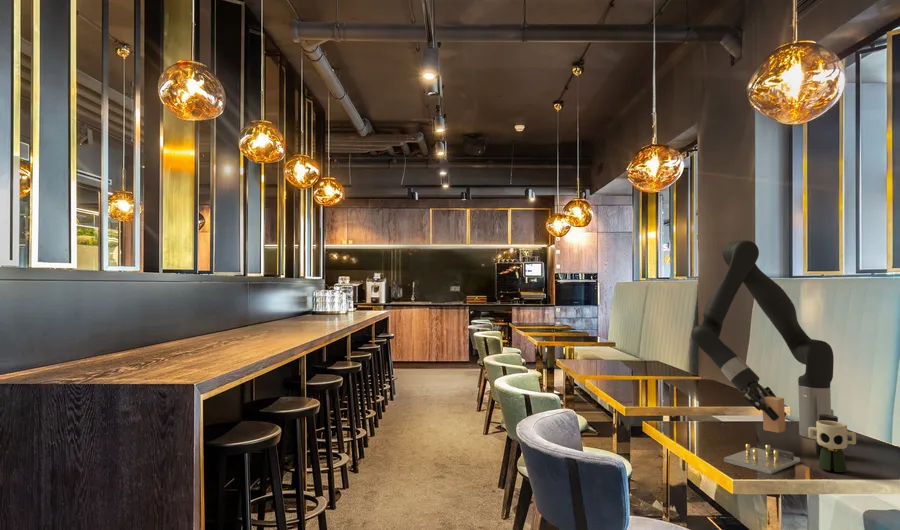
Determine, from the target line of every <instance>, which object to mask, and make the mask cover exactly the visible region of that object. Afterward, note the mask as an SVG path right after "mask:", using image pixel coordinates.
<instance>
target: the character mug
mask: <svg viewBox="0 0 900 530" xmlns="http://www.w3.org/2000/svg"><path fill="white" fill-rule="evenodd" d="M813 431H816V432H817V436H813ZM808 432H809V438H808V439H811V440H815V439H816V440H817V442H818V444H819V445H821V446H823V447H822V449H821V452H820V456H819V459H818V467H819V468H820V469H823V470H825V471H828V472H829V471H831V469H832V470H834V472H836V473H843V472H846V471H847V469H848V468H847V463H846V459H845V458H846V456H845V453H844V451H843V449H846V448H847V447H848V445H856V444H857V435H856V434H857V433H856V432H853V431H848V425H847V424H846V423H843V422H839V421H838V422H835V421H817V422H816V428H815V427H809V429H808ZM848 436H850V437H851V440H848ZM841 449H842V450H841Z"/></svg>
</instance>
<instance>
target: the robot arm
mask: <svg viewBox="0 0 900 530" xmlns="http://www.w3.org/2000/svg"><path fill="white" fill-rule="evenodd" d="M721 254H722V255H721V256H722V258H723V261H724V263H725V264H726V265H727V266H728V268H727V271H726V273H725V275H724V277H723V278H722V280H721V281H720V282H719V284H718V285H717V286H716V288H715V289H714V290H713V291H712V293H711V295H710V296H709V299H708V300H707V303H706V305H705V307H704V310H703V313H702V316H703V320H702V323H701V324H699V325H696V326H695V327H693V328H692V330H691V333H690V334H691V339H692V340H693V342H694V343H695V344H696V346H698V347H699V348H700V349H701V350H702V351H703V352H704V353H705V354H706V355H707V356H708V357H709V358H710V359H711V361H712V362H713V363H714V364H715V365H716V367H718V368H719V369H720V371H721V372H722V373H723V375H724V376H725V377H726V379H728V381H729V382H730V383H731V384H732V385H733V387H735V388H736V389H737V390H738V391H739V392H740V393H745V394H744V395H743V399H744V400H745V401H747V402H748V403H749V404H750V405H752V407H754V408H755V409H756V410H757V411H758V412H759V411H761V412H762V413H763V412H765V413H766V414H767V415H768V416H769V417H770V418H771V419H772V420H773V421H775V420H777V419H778V418H779V416H778V415H777V414H776V412H775V411H774V410H773V409H772V408H771V407H770V406H769V405H768V403H767V402H766V401H765V397H767V396H770V397H771V396H773V397H777V395H776V394H775V393H774V391H772V389H771V388H770V387H769V386H766V387H764V386H762V385H761V384H760V383H759V381H760V377H759V376H758V375H757V373H755V372H754V370H752V368H751V367H750V366H749V365H748V364H747V363H746V362H745V361H744V360H743V359H741V358H740V356H738V355H737V354H736V353H735V352H734V351H733V350H732V349H731V348H730V347H729V346H727V345H726V344H725V343H724V342H723V341H722V340H721V338H720V336H721V332H722V329H723V323H724V321H725V319H726V316H727V314H728V312H729V309H730V307H731V306H732V303H733V301H734V299H735V297H736V295H737V293H738V291H739V290H740V288H741V286H742V285H743V284H744V286H745V287H746V289H747V291H748V292H749V293H750V295H751V296H752V297H753V298H754V300H755V302H756V303H757V305H758V306H759V308H760V309H761V310H762V311H763V313H764V314H765V316H767V319H769V320H770V323H771V324H772V325H773V326H774V328H775V329H776V330H777V332H778V333H779V335H780V336H781V338H782V339H783V340H784V342H785V345H786V346H787V347H788V349H789V351H790V353H791V354H792V356H793V357H794V359H795V360H796V361H797V362H798V363H801V365H805V373H804V374H803V375H800V376H799V377H798V380H797V382H798V385H797V386H798V425H799V429H798V430H799V431H798V432H799V436H800V437H803V438H807V439H810V438H809V432H808V429H809V427H815V425H816V422H817V421H819V415H820V414H827V415H833V416H835V414H834V410H833V409H832V404H831V403H832V400H831V395H832V394H831V383H832V381H833V378H834V364H835V363H834V361H835V360H834V351H833V348H832V347H831V345H830V344H829V343H827V342H826V341H825V340H819V339H813V338H811V337H810V336H809V335H808V334H807V333H806V332H805V330H804V329H803V328H802V327H801V325H800V323H799V321H798V316H797V309H796V307H795V304H794V303H793V301H792V300H791V298H790V297H789V295H788V294H787V293H786V291H785V290H784V288H782V287H781V286H780V285H779V284H778V283H777V282H775V281H774V280H773V279H771V278H770V277H769V276H768V275H767V274H765V273H764V272H763V271H762V270H761V269H760V267H759V266H758V265H757V264H756V262H757V261H758V259H759V257H760V256H759V255H760V250H759V247H758V245H757V244H756V243H755V242H753V241H751V240H745V239H744V240H736V241H735V240H734V241H730V242H727V243H726V244H725V245H724V246H723V248H722V253H721ZM787 415H788V414H787V413H786V412H785V417H787ZM813 436H815V431H813Z"/></svg>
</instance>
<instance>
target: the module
mask: <svg viewBox="0 0 900 530" xmlns="http://www.w3.org/2000/svg"><path fill="white" fill-rule="evenodd" d="M765 401H766V402H767V403H768V405H769V406H770V407H771V408H772V409H773V410H774V411H775V412H776V414H777V415H778V416H779V418H778V419H777V420H775V421H773V420H772V419H771V418H770V417H769V416H768V415H767V414H766V413H765V412H763V411H762V426H763V427H762V428H763V431H767V432H773V433H778V434H779V433H782V432H785V431H786V416H785V413H786V412H785V411H786V410H785V398H784V397H778V396H776V397H773V396H771V397H770V396H767V397H765Z"/></svg>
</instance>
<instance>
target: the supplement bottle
mask: <svg viewBox="0 0 900 530" xmlns="http://www.w3.org/2000/svg"><path fill="white" fill-rule="evenodd" d="M819 421H835V422H839V417H838V416H836V415H834V416H833V415H827V414H820V415H819ZM815 428H816V425H815ZM815 436H817V432H816V431H815ZM822 447H823V446H821V445H819V444H818V442H817V440H816V439H814V450H815V451H814V452H815V454H816V455H817V456H819V457H820V452H821V449H822ZM841 450H842V451H843V449H841Z"/></svg>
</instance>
